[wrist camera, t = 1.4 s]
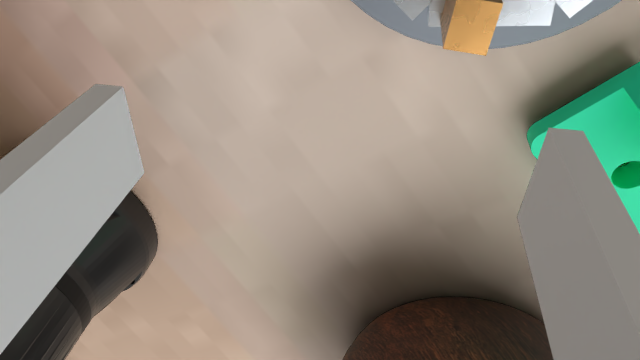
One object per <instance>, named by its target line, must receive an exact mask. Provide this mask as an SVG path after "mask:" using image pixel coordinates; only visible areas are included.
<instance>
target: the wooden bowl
mask: <svg viewBox="0 0 640 360" xmlns="http://www.w3.org/2000/svg"><path fill="white" fill-rule="evenodd" d="M343 360H554V359H553V356H552V352H551V348H550V344H549V340H548V336H547V332H546V328H545V324H543V323H542V322H540V321H539V320H537V319H536V318H534V317H532V316H531V315H529V314H527V313H524V312H522V311H520V310H518V309H515V308H512V307H509V306H506V305H503V304H500V303H496V302H492V301H488V300H482V299H476V298H467V297H440V298H430V299H424V300H419V301H415V302H411V303H408V304H405V305H402V306H399V307H397V308H394V309H392V310H390V311H388V312H386V313H384V314H382V315H381V316H379V317H377V318H376V319H375V320H374V321H372V322H371V323H370V324H369V325H368V326H367V327H366V328H365V329H364V330H363V331H362V332H361V333H360V334H359V335H358V337H357V338H356V339H355V341H354V342H353V343H352V345H351V346H350V347H349V349H348V351H347V353H346V354H345V356H344V358H343Z"/></svg>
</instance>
